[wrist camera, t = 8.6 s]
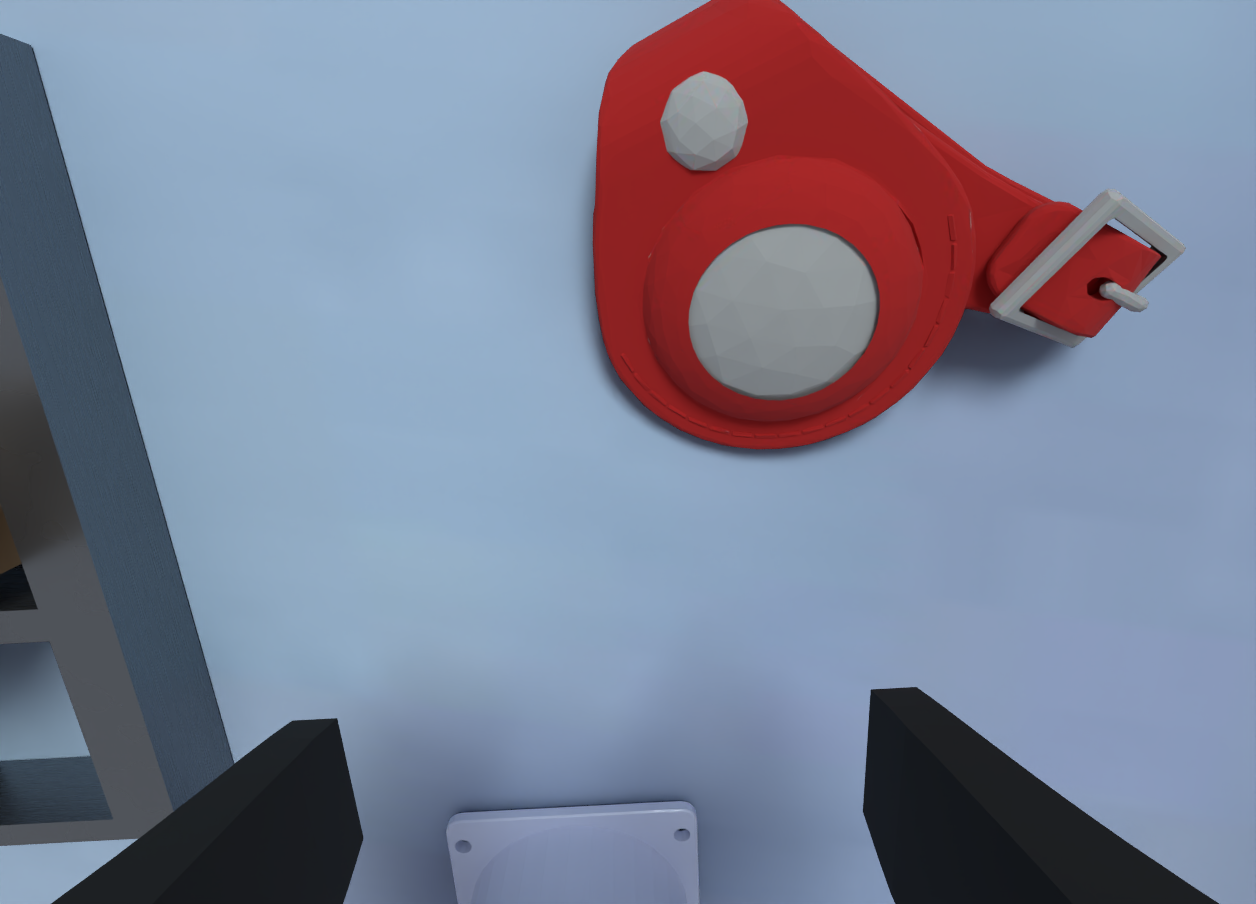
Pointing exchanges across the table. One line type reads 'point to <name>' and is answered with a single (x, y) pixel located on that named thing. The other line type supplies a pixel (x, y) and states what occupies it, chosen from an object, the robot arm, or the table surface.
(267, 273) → the table surface
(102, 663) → the rail
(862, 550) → the table surface
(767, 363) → the tracker holder
